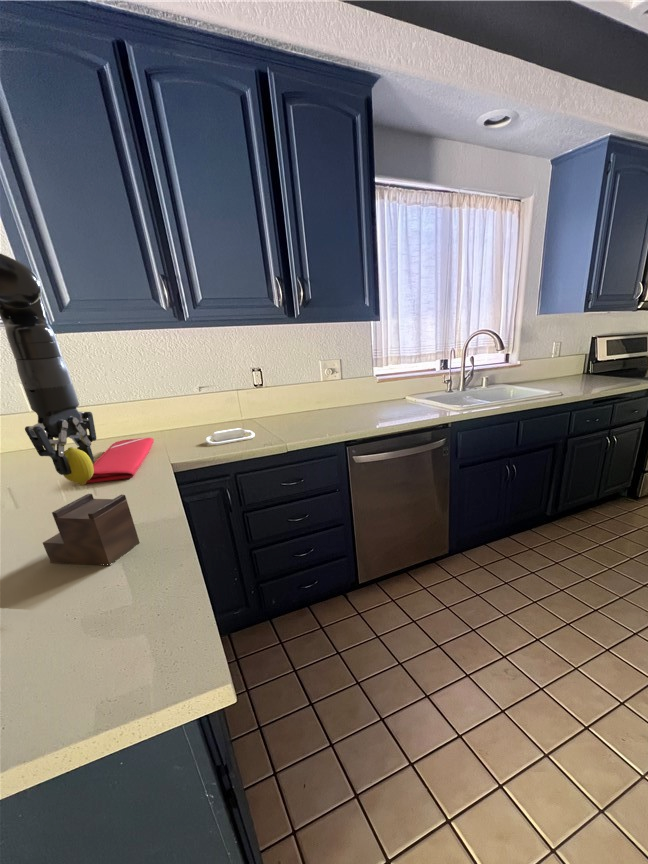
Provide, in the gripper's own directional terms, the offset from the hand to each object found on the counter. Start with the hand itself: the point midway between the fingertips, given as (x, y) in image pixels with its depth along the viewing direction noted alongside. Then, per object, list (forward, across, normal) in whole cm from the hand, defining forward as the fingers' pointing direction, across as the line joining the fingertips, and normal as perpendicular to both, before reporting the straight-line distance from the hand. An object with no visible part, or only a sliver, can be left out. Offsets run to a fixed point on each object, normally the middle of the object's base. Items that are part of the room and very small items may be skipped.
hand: (77, 468), depth 87 cm
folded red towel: (+20, -61, -40) cm, 76 cm away
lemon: (+4, 0, 0) cm, 4 cm away
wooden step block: (+20, 0, -2) cm, 20 cm away
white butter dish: (+20, -92, -13) cm, 95 cm away
